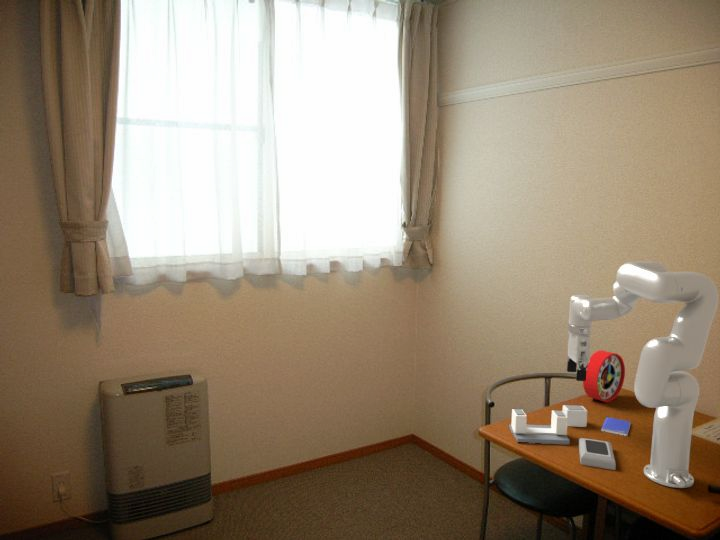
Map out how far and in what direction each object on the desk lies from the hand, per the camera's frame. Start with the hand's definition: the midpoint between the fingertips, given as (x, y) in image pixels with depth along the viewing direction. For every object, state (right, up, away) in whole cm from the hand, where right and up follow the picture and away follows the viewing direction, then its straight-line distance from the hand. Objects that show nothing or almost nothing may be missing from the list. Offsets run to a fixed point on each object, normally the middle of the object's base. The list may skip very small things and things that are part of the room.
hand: (576, 376), depth 191 cm
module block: (0, -18, +2) cm, 18 cm away
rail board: (-17, -19, -9) cm, 27 cm away
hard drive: (+14, -19, -1) cm, 23 cm away
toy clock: (+22, -15, +27) cm, 38 cm away
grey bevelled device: (-3, -21, -24) cm, 32 cm away
